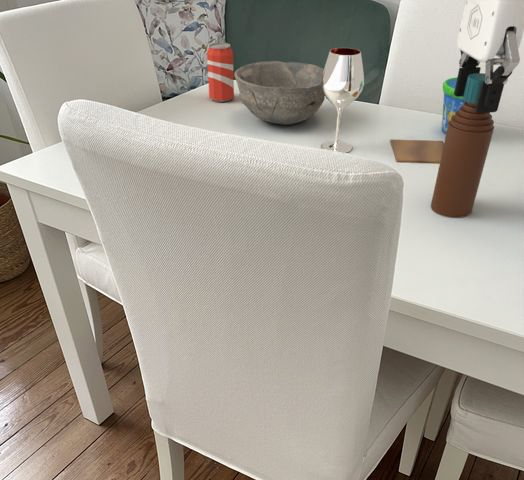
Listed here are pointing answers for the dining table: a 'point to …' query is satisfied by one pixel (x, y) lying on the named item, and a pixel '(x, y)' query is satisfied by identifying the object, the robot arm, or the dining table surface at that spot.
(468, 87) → the cap
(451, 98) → the snack cup
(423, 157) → the coaster
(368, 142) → the dining table surface
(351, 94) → the wineglass
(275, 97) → the bowl
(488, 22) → the robot arm
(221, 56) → the beverage can
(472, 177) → the bottle
